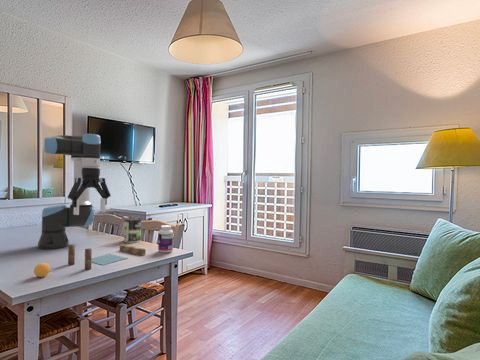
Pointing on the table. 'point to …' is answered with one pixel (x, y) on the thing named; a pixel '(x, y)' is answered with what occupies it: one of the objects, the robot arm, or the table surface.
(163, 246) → the pill bottle
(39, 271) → the ball
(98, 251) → the table surface
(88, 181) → the robot arm
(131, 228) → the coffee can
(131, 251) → the wooden bar
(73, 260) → the post
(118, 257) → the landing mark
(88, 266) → the post
